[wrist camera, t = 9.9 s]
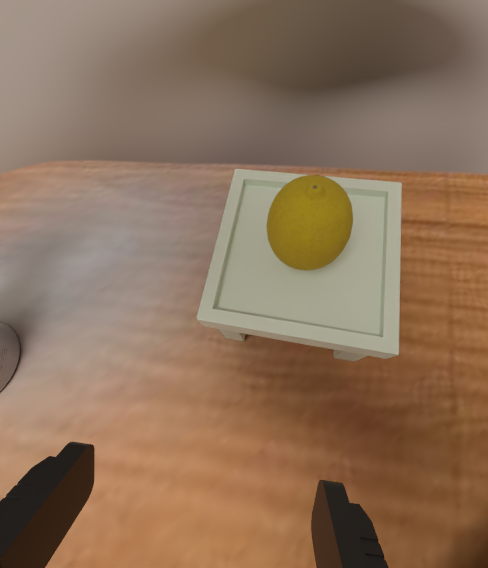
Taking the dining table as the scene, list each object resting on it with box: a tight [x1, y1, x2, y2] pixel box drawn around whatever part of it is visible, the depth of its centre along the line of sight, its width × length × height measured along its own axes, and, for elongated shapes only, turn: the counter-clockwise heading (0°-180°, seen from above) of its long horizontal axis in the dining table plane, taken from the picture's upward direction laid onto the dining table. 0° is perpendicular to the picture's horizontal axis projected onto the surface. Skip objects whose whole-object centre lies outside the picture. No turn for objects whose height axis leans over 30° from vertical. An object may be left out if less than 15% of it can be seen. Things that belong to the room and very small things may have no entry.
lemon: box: [267, 175, 353, 271], centre depth 19 cm, size 6×6×8 cm
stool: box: [196, 169, 402, 362], centre depth 27 cm, size 14×14×10 cm
